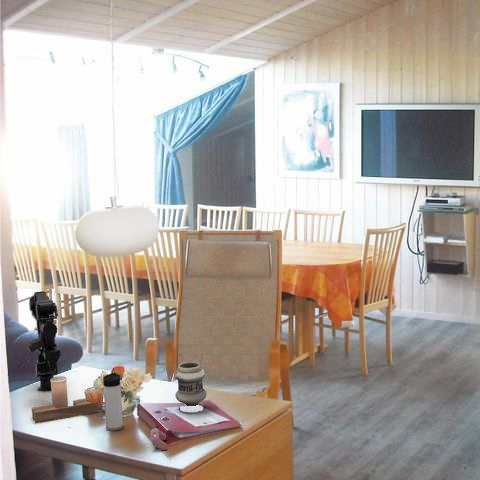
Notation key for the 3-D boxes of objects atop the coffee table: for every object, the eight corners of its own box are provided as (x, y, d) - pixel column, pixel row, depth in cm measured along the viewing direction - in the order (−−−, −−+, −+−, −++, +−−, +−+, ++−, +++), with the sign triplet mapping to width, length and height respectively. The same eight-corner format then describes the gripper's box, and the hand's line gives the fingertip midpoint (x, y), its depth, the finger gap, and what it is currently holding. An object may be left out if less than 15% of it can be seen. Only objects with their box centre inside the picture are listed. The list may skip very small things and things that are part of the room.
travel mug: (125, 424, 302) (122, 372, 299) (120, 431, 295) (117, 378, 292) (108, 424, 302) (105, 372, 299) (103, 431, 296) (100, 378, 293)
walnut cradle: (32, 417, 312) (31, 407, 312) (93, 406, 322) (92, 397, 321) (35, 423, 306) (34, 413, 305) (98, 412, 315) (97, 402, 315)
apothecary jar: (170, 412, 312) (168, 367, 310) (184, 402, 324) (182, 358, 321) (199, 415, 308) (197, 370, 305) (212, 405, 319) (210, 361, 316)
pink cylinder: (51, 406, 323) (49, 377, 322) (66, 404, 326) (64, 375, 324) (54, 411, 318) (52, 382, 316) (69, 408, 320) (67, 379, 319)
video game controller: (157, 444, 286) (147, 428, 285) (168, 438, 286) (158, 421, 285) (157, 455, 276) (147, 438, 275) (169, 449, 276) (158, 432, 275)
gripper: (23, 329, 333) (25, 365, 336) (31, 339, 316) (34, 378, 319) (50, 325, 338) (52, 361, 340) (59, 335, 321) (62, 373, 323)
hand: (49, 368), depth 330 cm, fingers open, 9 cm apart
